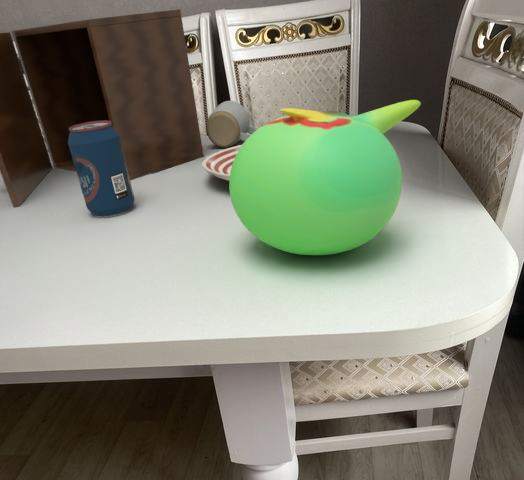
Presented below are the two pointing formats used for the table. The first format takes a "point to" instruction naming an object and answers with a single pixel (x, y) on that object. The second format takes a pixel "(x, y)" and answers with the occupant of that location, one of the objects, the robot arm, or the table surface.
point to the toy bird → (319, 179)
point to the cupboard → (115, 86)
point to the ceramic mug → (229, 124)
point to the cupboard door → (18, 129)
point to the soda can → (101, 168)
